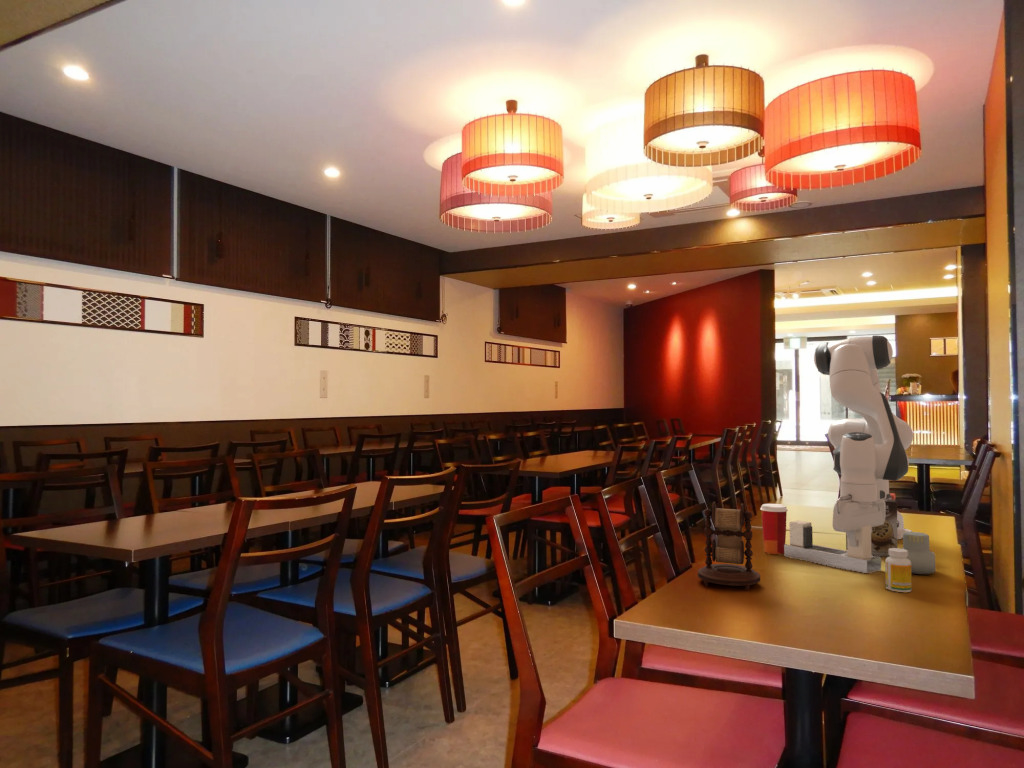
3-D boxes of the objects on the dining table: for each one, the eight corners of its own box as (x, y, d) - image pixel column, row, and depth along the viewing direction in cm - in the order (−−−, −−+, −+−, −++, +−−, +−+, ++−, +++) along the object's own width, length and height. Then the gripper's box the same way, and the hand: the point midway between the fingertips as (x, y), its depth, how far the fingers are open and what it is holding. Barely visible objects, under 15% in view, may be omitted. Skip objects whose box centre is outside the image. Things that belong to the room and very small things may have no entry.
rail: (798, 553, 198) (798, 519, 198) (881, 570, 178) (880, 532, 179) (784, 556, 194) (783, 522, 195) (867, 574, 174) (866, 535, 175)
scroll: (762, 579, 170) (761, 500, 171) (758, 594, 157) (757, 508, 157) (702, 573, 176) (701, 497, 177) (693, 587, 163) (692, 504, 163)
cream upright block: (871, 559, 179) (870, 525, 179) (863, 561, 177) (862, 527, 177) (853, 555, 183) (853, 522, 183) (845, 557, 181) (844, 524, 181)
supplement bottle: (880, 588, 162) (879, 547, 162) (898, 586, 163) (898, 546, 163) (898, 594, 156) (897, 552, 157) (917, 592, 158) (916, 551, 158)
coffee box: (862, 555, 196) (861, 499, 196) (860, 550, 202) (859, 496, 202) (898, 557, 192) (897, 501, 193) (895, 553, 198) (894, 498, 199)
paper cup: (783, 549, 203) (783, 503, 204) (791, 555, 196) (791, 507, 196) (757, 549, 204) (756, 503, 204) (764, 555, 196) (763, 507, 197)
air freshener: (899, 565, 183) (898, 529, 184) (934, 569, 179) (934, 531, 179) (898, 574, 174) (897, 536, 174) (935, 578, 170) (935, 539, 170)
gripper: (848, 498, 172) (849, 552, 171) (889, 491, 183) (890, 542, 183) (825, 495, 177) (826, 548, 176) (866, 489, 188) (867, 538, 188)
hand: (859, 545), depth 180 cm, fingers closed on cream upright block, 4 cm apart
